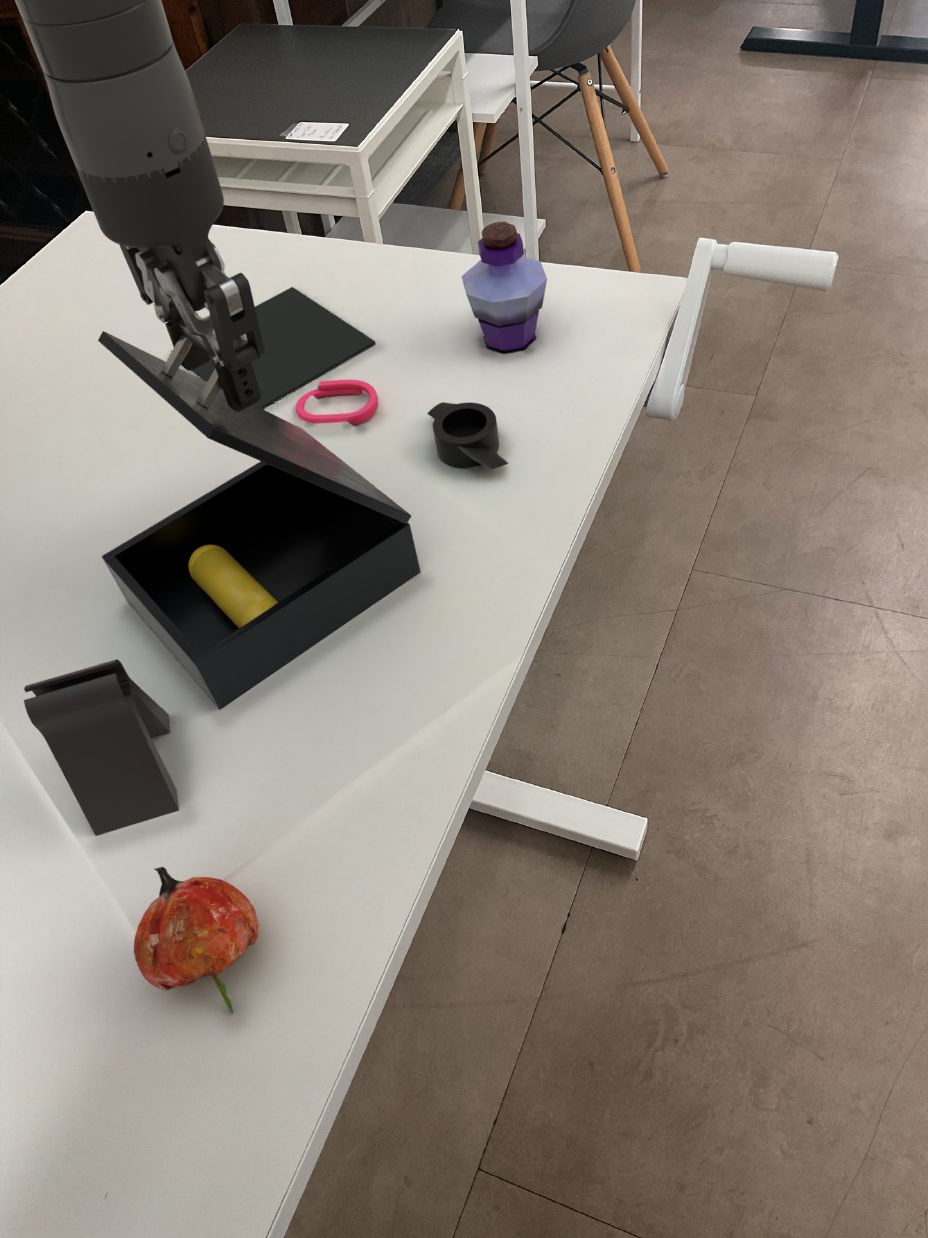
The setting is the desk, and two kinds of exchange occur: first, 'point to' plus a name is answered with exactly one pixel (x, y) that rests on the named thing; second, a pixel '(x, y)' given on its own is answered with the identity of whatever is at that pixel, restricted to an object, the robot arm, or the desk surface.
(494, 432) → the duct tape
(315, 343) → the mat
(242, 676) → the black open box
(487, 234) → the potion bottle
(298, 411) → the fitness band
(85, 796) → the phone stand
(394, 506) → the lid
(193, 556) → the yellow capsule
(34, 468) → the desk surface
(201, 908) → the painted toy pumpkin
